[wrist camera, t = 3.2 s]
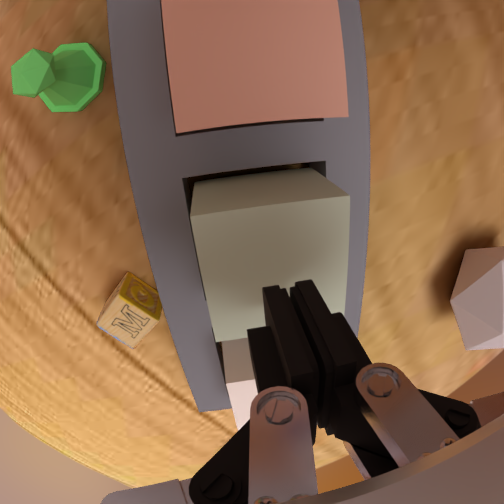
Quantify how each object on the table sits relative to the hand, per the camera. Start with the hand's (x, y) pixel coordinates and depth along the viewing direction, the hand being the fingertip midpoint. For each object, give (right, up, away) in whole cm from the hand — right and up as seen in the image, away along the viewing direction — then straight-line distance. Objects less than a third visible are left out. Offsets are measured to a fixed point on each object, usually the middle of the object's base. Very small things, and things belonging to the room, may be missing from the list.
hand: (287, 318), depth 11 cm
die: (+18, 0, +14) cm, 23 cm away
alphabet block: (-9, -1, +10) cm, 14 cm away
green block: (-1, +4, +6) cm, 7 cm away
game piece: (-11, +12, +3) cm, 17 cm away
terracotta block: (-2, +12, +2) cm, 12 cm away
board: (-1, +5, +8) cm, 10 cm away
